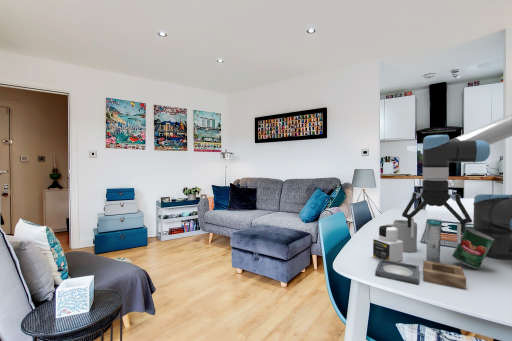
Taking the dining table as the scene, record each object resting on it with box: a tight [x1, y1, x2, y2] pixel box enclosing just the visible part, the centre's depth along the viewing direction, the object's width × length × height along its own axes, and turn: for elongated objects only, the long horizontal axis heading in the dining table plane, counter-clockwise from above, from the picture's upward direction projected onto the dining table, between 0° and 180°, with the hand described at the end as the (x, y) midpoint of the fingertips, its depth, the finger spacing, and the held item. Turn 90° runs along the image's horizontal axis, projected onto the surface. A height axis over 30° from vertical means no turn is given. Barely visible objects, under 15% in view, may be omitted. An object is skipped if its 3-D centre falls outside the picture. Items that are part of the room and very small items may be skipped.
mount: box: [422, 259, 467, 290], centre depth 81 cm, size 10×10×3 cm
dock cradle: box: [374, 259, 420, 286], centre depth 84 cm, size 12×12×2 cm
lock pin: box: [425, 218, 443, 263], centre depth 93 cm, size 5×5×15 cm
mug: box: [386, 219, 418, 253], centre depth 109 cm, size 12×8×11 cm
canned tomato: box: [451, 227, 494, 270], centre depth 89 cm, size 8×8×11 cm
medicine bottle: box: [372, 224, 404, 262], centre depth 97 cm, size 7×7×12 cm
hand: (434, 239), depth 93 cm, fingers open, 13 cm apart
